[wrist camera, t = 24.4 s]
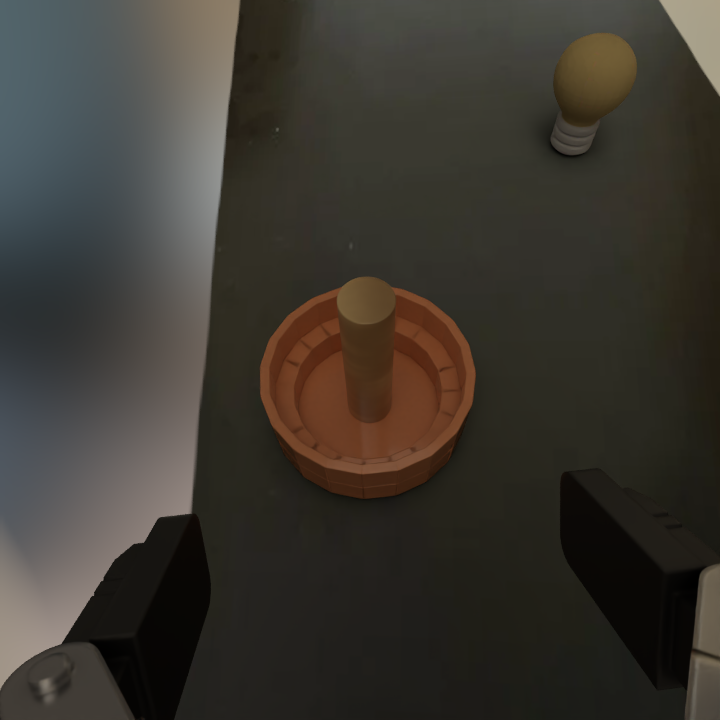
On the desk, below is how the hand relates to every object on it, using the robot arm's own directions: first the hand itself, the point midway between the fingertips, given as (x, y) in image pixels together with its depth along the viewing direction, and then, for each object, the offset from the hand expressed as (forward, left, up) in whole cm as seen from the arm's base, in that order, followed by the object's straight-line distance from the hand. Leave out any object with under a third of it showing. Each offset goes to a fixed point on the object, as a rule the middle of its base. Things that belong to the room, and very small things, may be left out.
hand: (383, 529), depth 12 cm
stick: (+1, +14, -22) cm, 26 cm away
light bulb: (+23, +38, -22) cm, 50 cm away
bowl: (+1, +13, -22) cm, 26 cm away
